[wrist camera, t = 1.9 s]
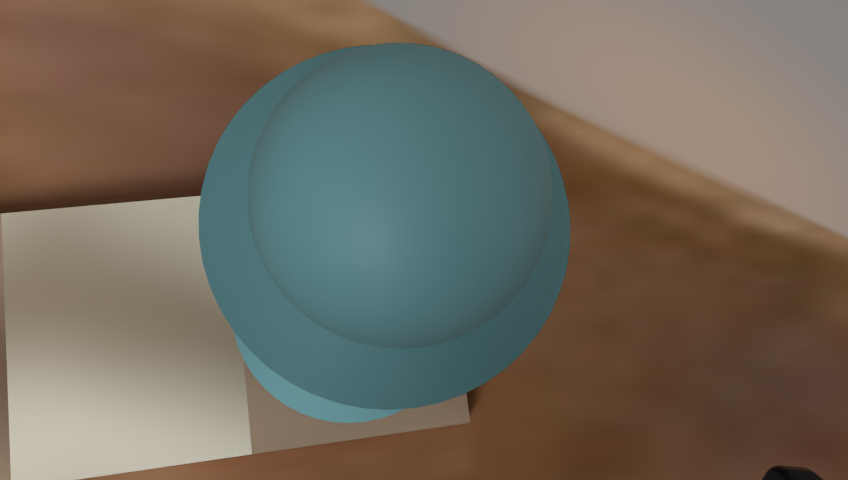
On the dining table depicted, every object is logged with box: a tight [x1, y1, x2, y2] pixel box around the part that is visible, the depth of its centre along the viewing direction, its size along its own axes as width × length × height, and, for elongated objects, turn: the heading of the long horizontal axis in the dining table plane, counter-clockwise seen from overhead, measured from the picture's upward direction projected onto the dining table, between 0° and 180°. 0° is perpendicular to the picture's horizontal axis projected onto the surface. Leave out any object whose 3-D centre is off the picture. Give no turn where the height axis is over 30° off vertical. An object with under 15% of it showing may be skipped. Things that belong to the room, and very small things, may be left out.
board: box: [0, 196, 470, 480], centre depth 17 cm, size 6×20×1 cm, turn 98°
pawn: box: [199, 43, 570, 423], centre depth 12 cm, size 5×5×12 cm
